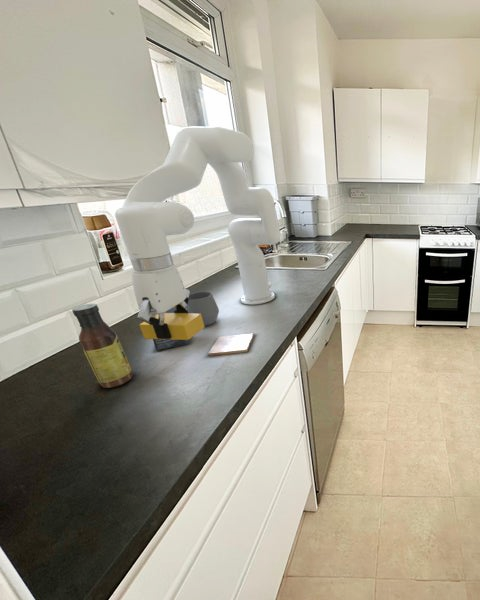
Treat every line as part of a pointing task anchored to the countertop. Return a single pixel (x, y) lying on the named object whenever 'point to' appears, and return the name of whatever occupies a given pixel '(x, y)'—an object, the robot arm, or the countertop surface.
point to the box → (168, 343)
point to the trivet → (231, 344)
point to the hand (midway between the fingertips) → (174, 330)
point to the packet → (176, 326)
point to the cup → (203, 306)
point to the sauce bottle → (102, 347)
